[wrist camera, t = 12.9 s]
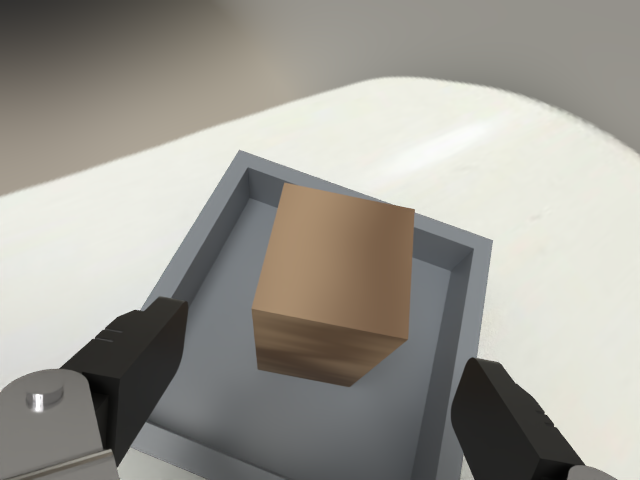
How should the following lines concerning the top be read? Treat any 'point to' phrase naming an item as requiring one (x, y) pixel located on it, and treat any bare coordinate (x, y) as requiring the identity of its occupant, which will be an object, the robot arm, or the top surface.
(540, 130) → the top surface
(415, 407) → the box
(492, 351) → the top surface
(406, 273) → the walnut block
